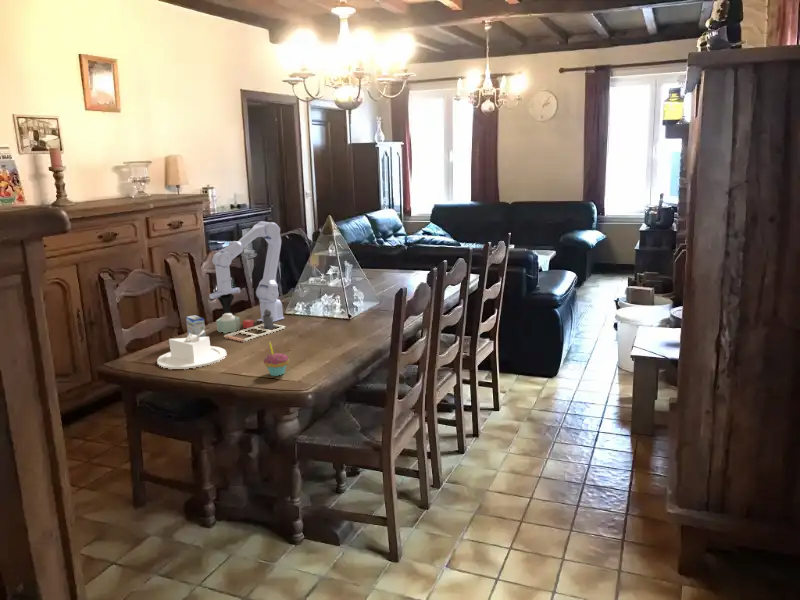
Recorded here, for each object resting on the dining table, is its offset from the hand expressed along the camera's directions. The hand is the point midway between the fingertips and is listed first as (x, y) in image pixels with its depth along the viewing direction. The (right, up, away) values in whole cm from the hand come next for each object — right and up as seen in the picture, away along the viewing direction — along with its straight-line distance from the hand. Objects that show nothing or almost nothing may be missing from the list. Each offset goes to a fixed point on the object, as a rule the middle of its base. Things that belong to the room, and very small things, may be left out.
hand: (227, 312), depth 282 cm
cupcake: (+32, -20, -55) cm, 67 cm away
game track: (+13, -9, -4) cm, 16 cm away
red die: (+8, -7, +4) cm, 12 cm away
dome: (0, -5, +1) cm, 5 cm away
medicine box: (-11, -11, -7) cm, 17 cm away
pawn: (+18, -7, +1) cm, 19 cm away
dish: (-4, -17, -34) cm, 39 cm away
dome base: (0, -8, +2) cm, 8 cm away
